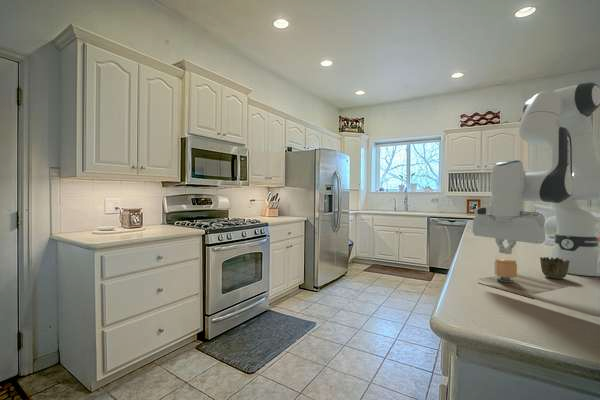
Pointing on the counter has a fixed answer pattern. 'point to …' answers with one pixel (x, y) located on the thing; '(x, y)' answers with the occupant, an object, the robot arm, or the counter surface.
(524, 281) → the board
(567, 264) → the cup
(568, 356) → the counter surface
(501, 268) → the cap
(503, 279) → the stud
